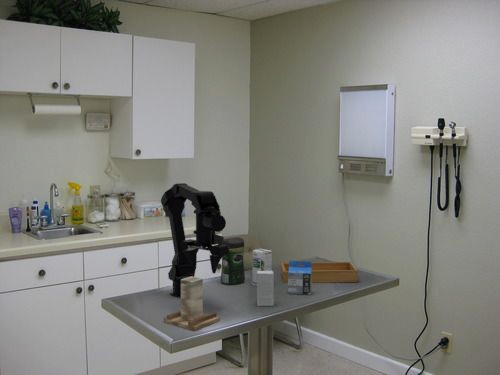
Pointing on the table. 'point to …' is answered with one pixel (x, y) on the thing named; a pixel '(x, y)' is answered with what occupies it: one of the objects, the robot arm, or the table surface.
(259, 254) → the syrup box
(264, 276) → the skincare box
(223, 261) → the coffee jar
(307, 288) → the label tape box
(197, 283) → the maple block
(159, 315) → the table surface
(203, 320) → the slotted oak board
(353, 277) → the tray
